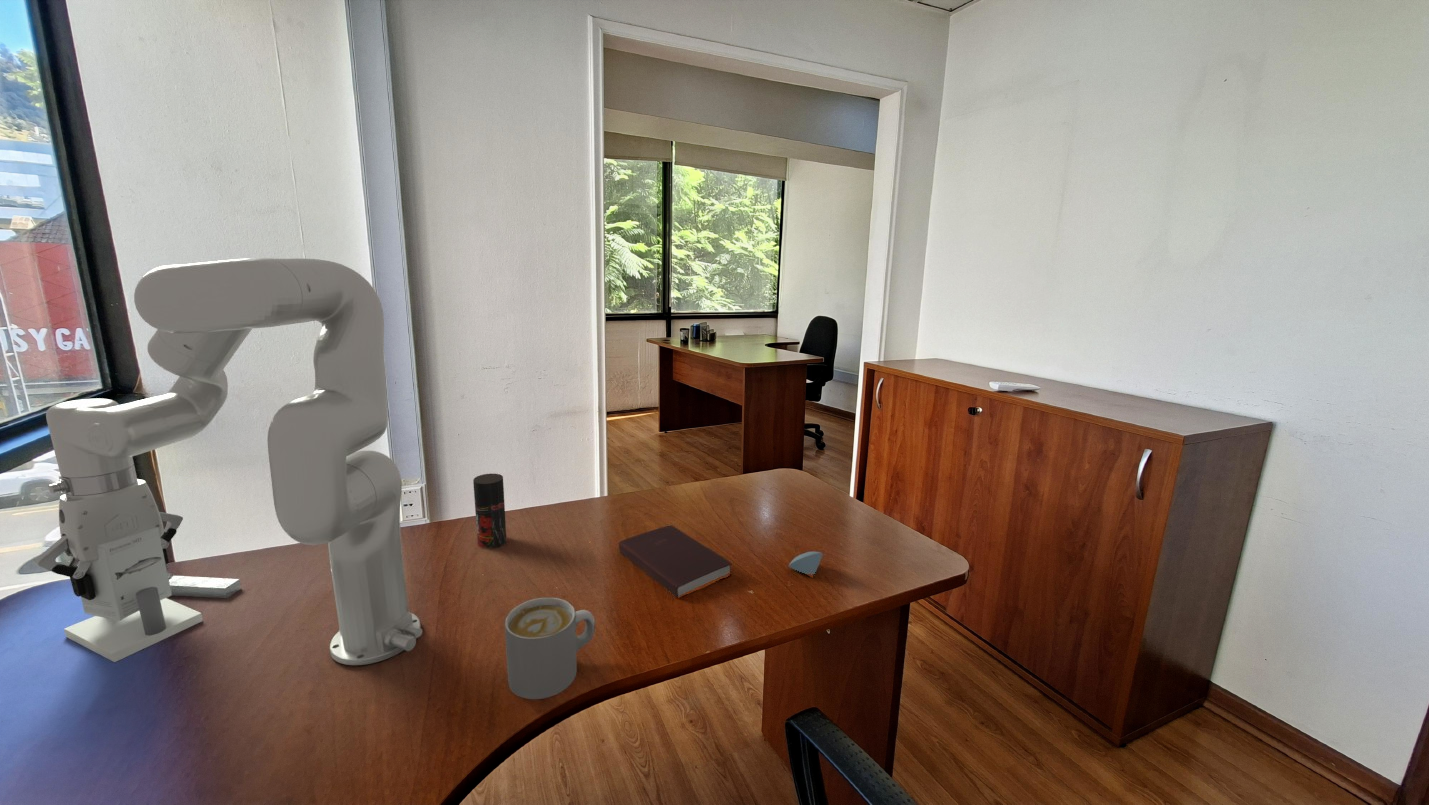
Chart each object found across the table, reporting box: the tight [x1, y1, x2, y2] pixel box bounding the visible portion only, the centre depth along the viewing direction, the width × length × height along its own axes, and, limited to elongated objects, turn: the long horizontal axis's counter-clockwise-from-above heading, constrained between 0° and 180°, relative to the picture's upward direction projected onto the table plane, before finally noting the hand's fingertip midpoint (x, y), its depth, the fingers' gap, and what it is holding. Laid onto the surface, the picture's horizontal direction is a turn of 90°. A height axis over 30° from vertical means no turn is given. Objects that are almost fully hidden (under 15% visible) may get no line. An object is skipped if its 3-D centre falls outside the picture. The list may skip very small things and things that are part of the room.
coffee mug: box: [504, 596, 596, 700], centre depth 84 cm, size 13×10×10 cm
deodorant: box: [472, 473, 507, 550], centre depth 121 cm, size 6×6×15 cm
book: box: [618, 525, 733, 599], centre depth 116 cm, size 14×22×4 cm, turn 39°
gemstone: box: [788, 550, 824, 575], centre depth 114 cm, size 8×8×5 cm
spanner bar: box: [167, 572, 242, 599], centre depth 101 cm, size 16×4×2 cm, turn 88°
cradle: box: [63, 587, 204, 663], centre depth 90 cm, size 14×11×8 cm
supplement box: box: [70, 527, 173, 621], centre depth 88 cm, size 7×7×13 cm
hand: (125, 582), depth 89 cm, fingers closed on supplement box, 8 cm apart
